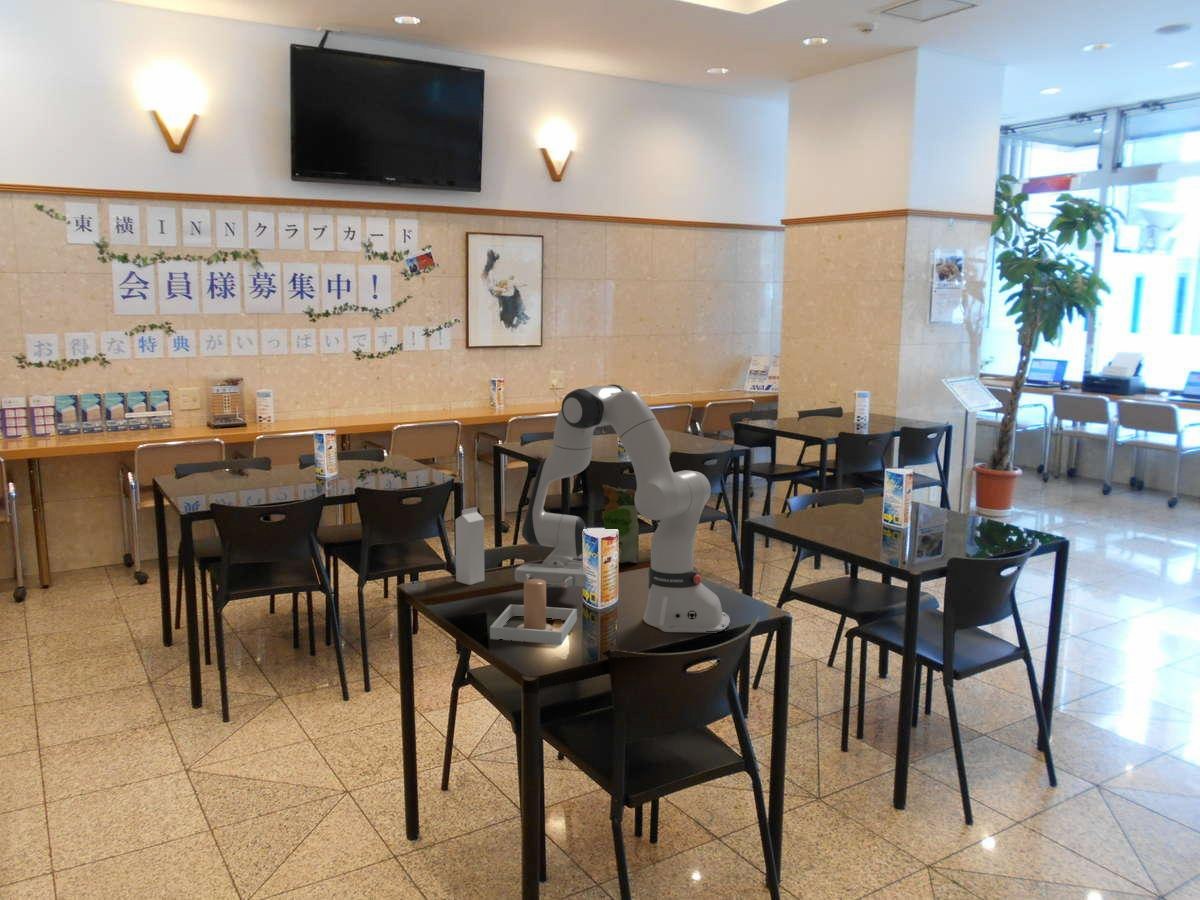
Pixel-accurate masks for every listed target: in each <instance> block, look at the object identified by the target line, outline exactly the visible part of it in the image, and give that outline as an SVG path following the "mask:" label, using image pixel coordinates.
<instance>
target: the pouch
mask: <svg viewBox="0 0 1200 900" xmlns="http://www.w3.org/2000/svg"><path fill="white" fill-rule="evenodd" d="M602 488H603V491H604V493H603V496H604V500H605V501H604V502H603V506H604V507H605V510H604V511H602V513H601V519H602V520H603V522H604V523H603V526H604V530H605V529H618V530H619V536H620V539H619V548H620V550H621V554H620V563H619V564H628V563H631V564H637V563H639V558H640V557H639V546H640V545H639V542H640V541H639V540H640V539H639V537H640V536H639V534H640V532H639V528H640V526H639V522H638V515H639V512H638V511H637V509H636V506H635V501H634V497H635V492H636V491H635V490H634V489H628V488H626V489H625V488H624V489H623V488H622V487H620V486H618V488H616V487H613V486H609V485H608V484H606V483H605V484H602Z"/></svg>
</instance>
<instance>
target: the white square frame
mask: <svg viewBox="0 0 1200 900" xmlns="http://www.w3.org/2000/svg"><path fill="white" fill-rule="evenodd" d="M514 616H524V604H512V603H510V604H509V605H508V606H507V607H506V608H505V609H504V611H502V613H500V615H499V616H498V617H497V619H495V620H494V621H493V623H492V624H491V625H490V626H489V639H490V640H499V639H503V640H502V641H511V640H512V641H514V642H524V641H525V642H526V643H535V644H536V643H538V644H551V645H562V644H563V643H564V641H565V639H566V638H567V637H568V636H569V634H570V632H571V630H572V629H573V627H574V625H575V624H576V622H577V621H578V609H577V608H570V607H569V608H566V607H556V606H555V607H551V606H546V618H552V619H551V620H554V619H561V620H560V621H564V623H563V625H562V626H561V628H560V629H559V630H552V631H549V630H536V629H523V628H517V627H510V626H509V627H507V626H506V625H507V623H508V622H509V621H510V620H511V619H512V617H514ZM510 618H511V619H510ZM509 619H510V620H509ZM508 620H509V621H508ZM507 621H508V622H507ZM506 622H507V623H506ZM504 625H505V626H504ZM503 626H504V627H503ZM512 641H511V642H512Z"/></svg>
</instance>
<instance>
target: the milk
mask: <svg viewBox="0 0 1200 900" xmlns="http://www.w3.org/2000/svg"><path fill="white" fill-rule="evenodd" d="M454 525H455V577H456V578H455V579H456V580H455V581H456V582H458V583H461V584H464V585H468V586H472V585H474V584H478V583H481V582H484V581H485V519H484V517H483V516H482V515H481V514H480V513H479V512H478V507H477V506H475V507H470V508H466V509H462V510H461V515H460V516H459V517H457V518H456V519H455V523H454Z"/></svg>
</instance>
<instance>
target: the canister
mask: <svg viewBox="0 0 1200 900" xmlns="http://www.w3.org/2000/svg"><path fill="white" fill-rule="evenodd" d="M523 605H524V617H523V624H524V629H536V630H545V629H546V623H547V619H546V607H547V584H546V581H544V580H541V579H530V580H526V581H524V583H523Z"/></svg>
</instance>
